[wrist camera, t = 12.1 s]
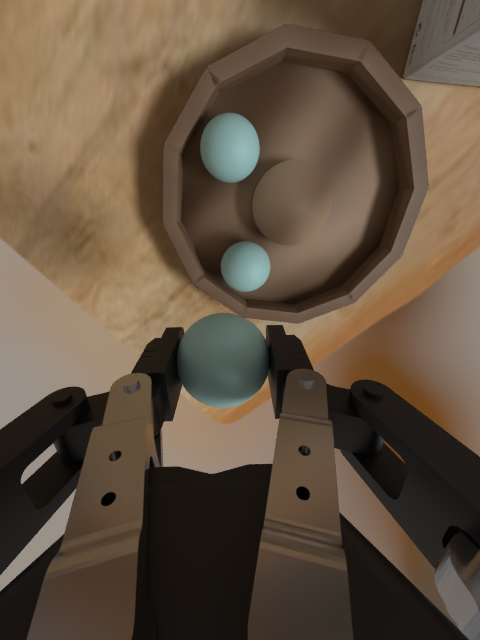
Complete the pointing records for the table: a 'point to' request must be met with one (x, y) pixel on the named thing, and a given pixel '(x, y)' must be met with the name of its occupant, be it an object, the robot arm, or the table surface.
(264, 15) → the table surface
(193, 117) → the tray
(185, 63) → the table surface
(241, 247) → the bead
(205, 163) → the bead
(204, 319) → the bead
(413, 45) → the supplement box
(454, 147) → the table surface
